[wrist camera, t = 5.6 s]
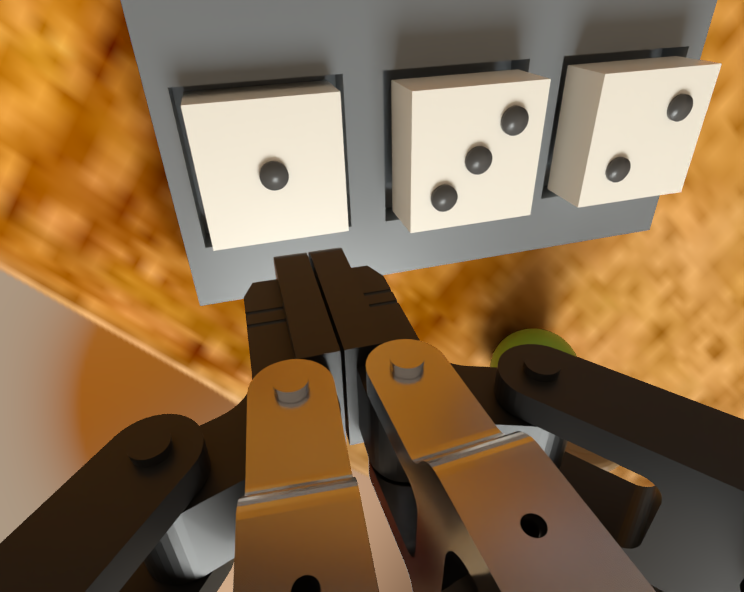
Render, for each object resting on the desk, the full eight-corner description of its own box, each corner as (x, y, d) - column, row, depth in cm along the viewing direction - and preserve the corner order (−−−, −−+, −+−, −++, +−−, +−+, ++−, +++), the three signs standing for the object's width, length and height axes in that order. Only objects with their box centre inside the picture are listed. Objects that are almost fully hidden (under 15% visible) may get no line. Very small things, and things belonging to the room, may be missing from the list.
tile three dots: (391, 79, 20) (413, 92, 18) (517, 69, 21) (554, 79, 19) (392, 210, 23) (411, 235, 21) (503, 195, 24) (532, 216, 22)
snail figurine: (562, 354, 36) (696, 495, 26) (480, 387, 35) (586, 544, 26) (560, 295, 33) (712, 429, 23) (470, 330, 32) (587, 483, 22)
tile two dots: (567, 65, 22) (608, 74, 20) (675, 55, 23) (725, 64, 21) (547, 188, 25) (580, 209, 23) (643, 175, 26) (684, 193, 24)
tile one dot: (183, 91, 19) (180, 106, 17) (326, 80, 20) (341, 92, 18) (212, 225, 22) (213, 252, 20) (336, 208, 23) (350, 232, 21)
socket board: (131, -6, 19) (119, -3, 16) (672, -28, 24) (725, -29, 21) (200, 274, 25) (200, 305, 23) (613, 209, 30) (649, 229, 28)
